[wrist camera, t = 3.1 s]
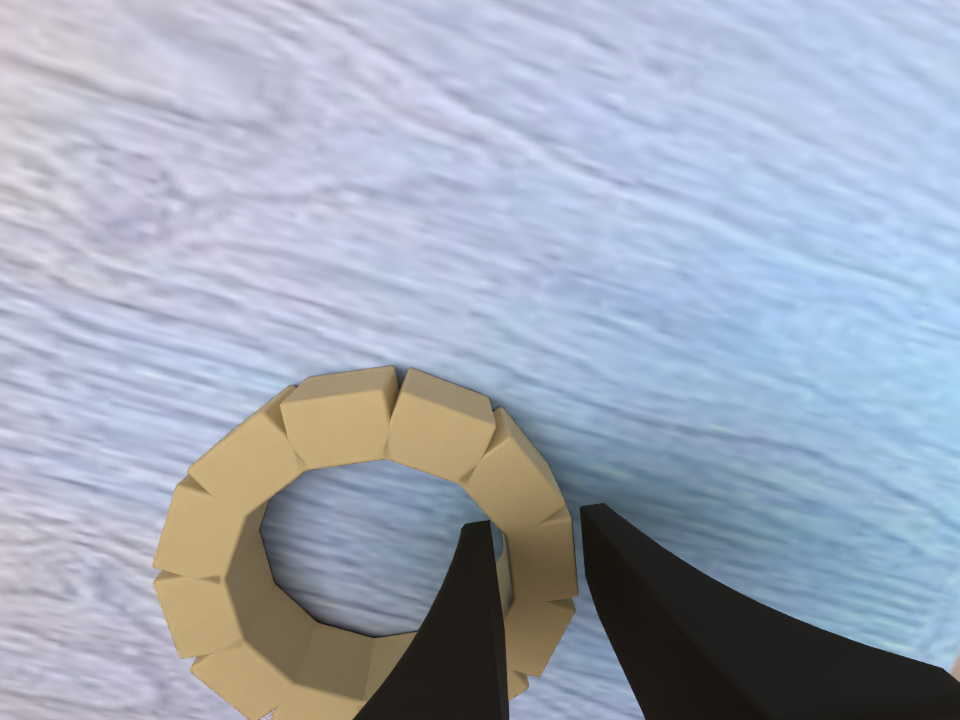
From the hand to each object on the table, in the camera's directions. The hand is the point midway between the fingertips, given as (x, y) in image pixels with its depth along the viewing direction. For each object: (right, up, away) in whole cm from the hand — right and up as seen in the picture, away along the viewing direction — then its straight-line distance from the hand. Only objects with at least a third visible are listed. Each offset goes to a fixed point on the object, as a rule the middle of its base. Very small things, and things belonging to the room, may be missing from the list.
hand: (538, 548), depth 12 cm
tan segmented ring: (-4, 0, +1) cm, 4 cm away
